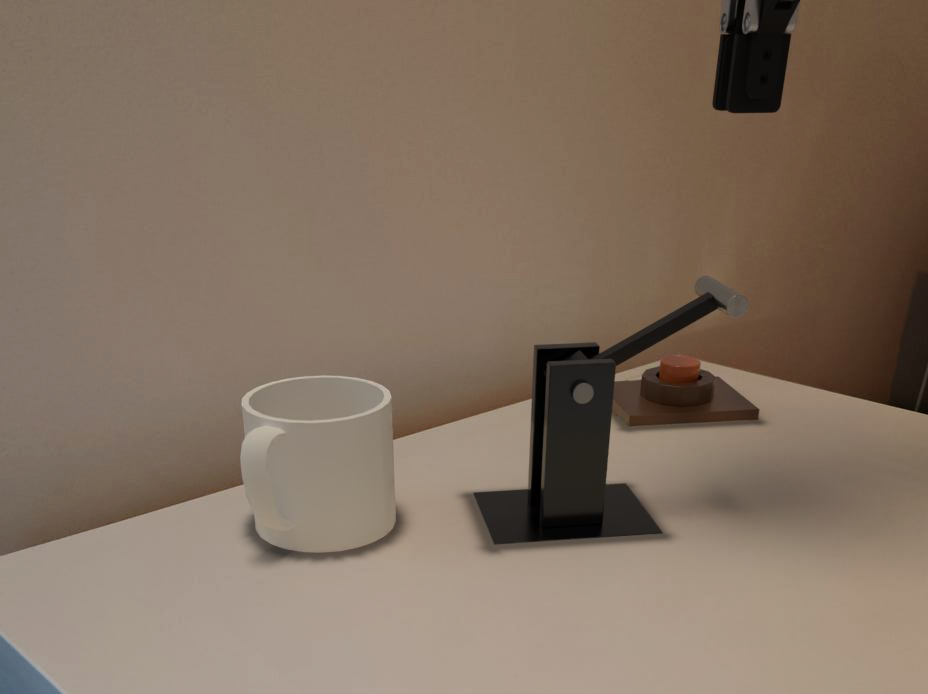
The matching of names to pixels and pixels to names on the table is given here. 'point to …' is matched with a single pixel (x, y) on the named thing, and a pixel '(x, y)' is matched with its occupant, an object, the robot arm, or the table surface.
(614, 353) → the lever
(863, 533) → the table surface
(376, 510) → the mug
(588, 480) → the bracket
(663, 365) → the button
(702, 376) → the button box
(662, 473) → the table surface
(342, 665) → the table surface
